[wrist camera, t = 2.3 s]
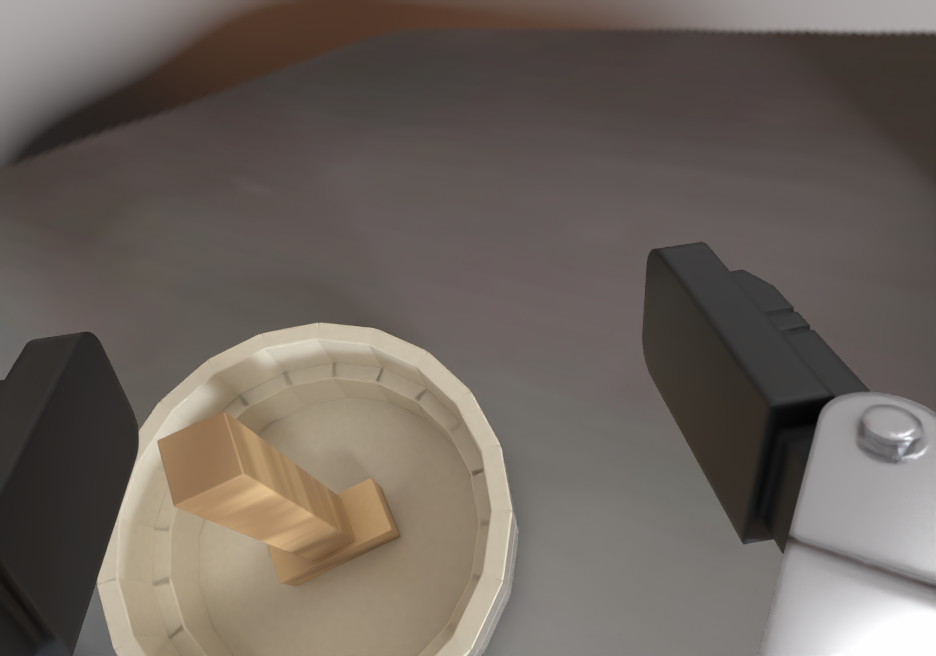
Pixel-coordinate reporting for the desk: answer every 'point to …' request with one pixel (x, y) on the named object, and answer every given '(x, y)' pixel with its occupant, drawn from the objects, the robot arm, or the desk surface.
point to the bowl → (338, 468)
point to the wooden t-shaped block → (272, 499)
